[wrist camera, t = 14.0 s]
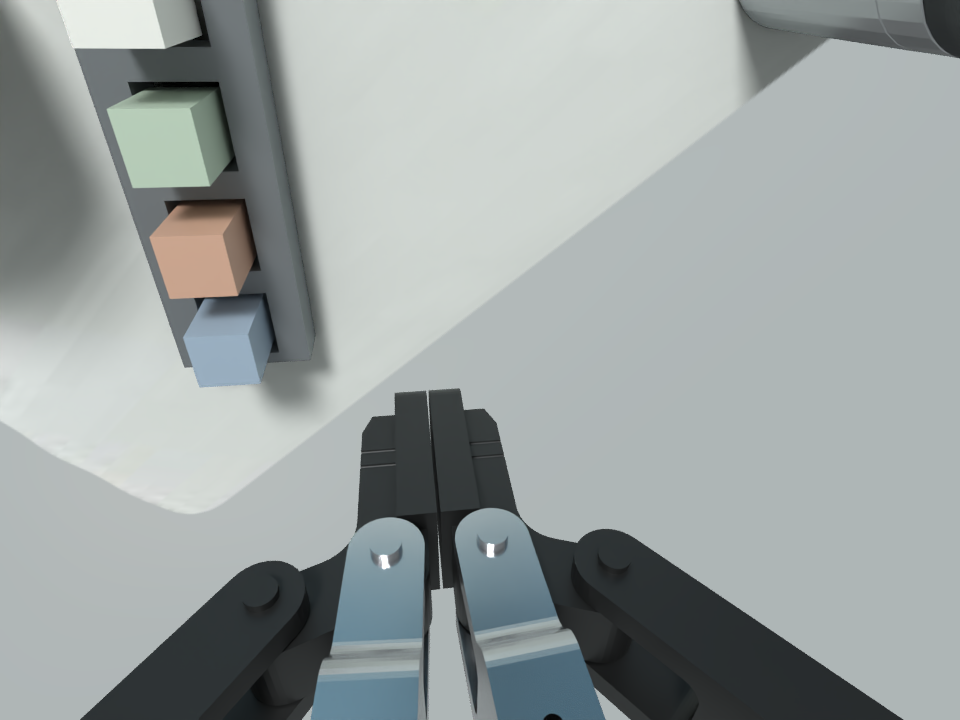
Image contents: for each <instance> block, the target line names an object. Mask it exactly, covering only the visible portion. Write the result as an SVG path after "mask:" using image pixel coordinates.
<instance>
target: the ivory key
mask: <svg viewBox="0 0 960 720" xmlns="http://www.w3.org/2000/svg"><path fill="white" fill-rule="evenodd" d="M56 2H57V5H58V7H59V10H60V13H61V16H62V19H63V22H64V25H65V28H66V31H67V33H68V36H69V39H70V42H71V45H72V48H107V49H166V48H169V47H171V46H174V45H177V44H180V43H182V42H185V41H188V40H190V39H193V38H196V37H199V36H201V35H202V32H201V28H200V24H199V19H198V15H197V11H196V6H195V2H194V0H56Z"/></svg>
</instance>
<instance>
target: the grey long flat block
mask: <svg viewBox="0 0 960 720" xmlns="http://www.w3.org/2000/svg"><path fill="white" fill-rule="evenodd" d="M201 4H202V9H203V13H204V18H205V22H206V27H207V31H208V36H209V40H188V41H185V42H182V43H180V44H177V45H174V46H171V47H169V48H166V49H107V48H74V49H75V51H76V54H77V57H78V60H79V63H80V66H81V69H82V72H83V75H84V78H85V80H86V83H87V86H88V89H89V92H90V95H91V98H92V101H93V104H94V107H95V109H96V112H97V115H98V118H99V121H100V124H101V127H102V130H103V133H104V136H105V138H106V141H107V144H108V147H109V150H110V153H111V156H112V159H113V162H114V165H115V167H116V170H117V173H118V176H119V179H120V182H121V185H122V188H123V191H124V194H125V196H126V199H127V202H128V205H129V208H130V211H131V214H132V217H133V220H134V222H135V225H136V228H137V231H138V234H139V237H140V240H141V243H142V246H143V249H144V251H145V254H146V257H147V260H148V263H149V266H150V269H151V272H152V275H153V278H154V280H155V283H156V286H157V289H158V292H159V295H160V298H161V301H162V304H163V307H164V309H165V312H166V315H167V318H168V321H169V324H170V327H171V330H172V333H173V336H174V338H175V341H176V344H177V347H178V350H179V353H180V356H181V359H182V362H183V365H184V367H185V368H186V367H193V366H192V363H191V360H190V357H189V354H188V351H187V348H186V345H185V342H184V339H183V337H184V335H185V333H186V331H187V330H188V328H189V326H190V324H191V322H192V321H193V319H194V317H195V315H196V313H197V312H198V310H199V308H200V306H201V304H202V303H203V301H204V299H205V297H202V298H181V299H170V298H169V295H168V292H167V289H166V286H165V283H164V280H163V277H162V274H161V271H160V268H159V265H158V262H157V259H156V256H155V253H154V250H153V247H152V244H151V241H150V238H149V237H150V236H151V235H152V234H153V232H154V231H155V230H156V229H157V228H158V227H159V226H160V225H161V223H162V222H163V221H164V220H165V219H166V218H167V217H168V215H169V214H170V213H171V212H172V211H173V210H174V209H175V208H176V206H177V205H178V204H179V203H180V202H181V201H182V200H214V199H245V201H246V206H247V210H248V215H249V219H250V224H251V228H252V233H253V237H254V241H255V246H256V250H257V255H256V258H255V260H254V262H253V264H252V266H251V269H250V271H249V273H248V275H247V277H246V280H245V282H244V284H243V286H242V288H241V290H240V293H239V294H257V293H266V295H267V300H268V304H269V309H270V313H271V318H272V322H273V326H274V331H275V338H274V341H273V344H272V348H271V351H270V354H269V357H268V361H267V363H269V362H286V361H303V360H311V355H312V350H313V345H314V340H315V330H314V325H313V319H312V313H311V307H310V302H309V296H308V290H307V285H306V279H305V273H304V268H303V262H302V256H301V251H300V245H299V239H298V234H297V228H296V222H295V217H294V211H293V205H292V199H291V194H290V188H289V182H288V177H287V171H286V165H285V160H284V154H283V148H282V143H281V137H280V131H279V126H278V120H277V114H276V109H275V103H274V97H273V91H272V86H271V80H270V74H269V69H268V63H267V57H266V52H265V46H264V40H263V35H262V29H261V23H260V18H259V12H258V6H257V0H201ZM153 82H219V85H220V89H221V94H222V98H223V103H224V107H225V112H226V116H227V121H228V125H229V130H230V134H231V139H232V143H233V147H234V152H235V156H234V157H233V159H232V160H231V161H230V162H229V164H228V165H227V166H226V167H225V168H224V170H223V171H222V172H221V173H220V175H219V176H218V177H217V178H216V180H215V181H214V182H213V183H212V184H211V186H201V187H159V188H133V187H132V184H131V181H130V178H129V175H128V172H127V169H126V166H125V163H124V160H123V157H122V154H121V151H120V148H119V145H118V142H117V139H116V136H115V133H114V130H113V127H112V124H111V121H110V118H109V115H108V112H107V108H109V107H111V106H113V105H115V104H117V103H119V102H121V101H123V100H125V99H127V98H129V97H131V96H133V95H135V94H137V93H139V92H141V91H143V90H145V89H147V88H149V87H154V85H153Z"/></svg>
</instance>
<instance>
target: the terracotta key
mask: <svg viewBox="0 0 960 720" xmlns="http://www.w3.org/2000/svg"><path fill="white" fill-rule="evenodd" d="M149 238H150V241H151V244H152V247H153V250H154V253H155V256H156V259H157V262H158V265H159V268H160V271H161V274H162V277H163V280H164V283H165V286H166V289H167V292H168V295H169V298H170V299H181V298H202V297H224V296H238V295H239V293H240V290H241V288H242V286H243V284H244V282H245V280H246V277H247V275H248V273H249V271H250V269H251V266H252V264H253V262H254V260H255V258H256V255H257V250H256V246H255V241H254V237H253V233H252V228H251V224H250V219H249V215H248V210H247V206H246V201H245V199H214V200H182V201H181V202H180V203H179V204H178V205H177V206H176V208H175V209H174V210H173V211H172V212H171V213H170V214H169V215H168V217H167V218H166V219H165V220H164V221H163V222H162V223H161V225H160V226H159V227H158V228H157V229H156V230H155V231H154V232H153V234H152V235H151V236H150V237H149Z"/></svg>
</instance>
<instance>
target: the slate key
mask: <svg viewBox="0 0 960 720" xmlns="http://www.w3.org/2000/svg"><path fill="white" fill-rule="evenodd" d="M274 338H275V331H274V326H273V322H272V318H271V313H270V309H269V304H268V300H267V295H266V293H257V294H239V295H238V296H224V297H205V299H204V301H203V303H202V304H201V306H200V308H199V310H198V312H197V313H196V315H195V317H194V319H193V321H192V322H191V324H190V326H189V328H188V330H187V331H186V333H185V335H184V337H183V339H184V342H185V345H186V348H187V351H188V354H189V357H190V360H191V363H192V366H193V369H194V372H195V375H196V378H197V381H198V384H199V387H214V386H230V385H245V384H261V380H262V377H263V374H264V371H265V367H266V364H267V361H268V357H269V354H270V351H271V348H272V344H273V341H274Z"/></svg>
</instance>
